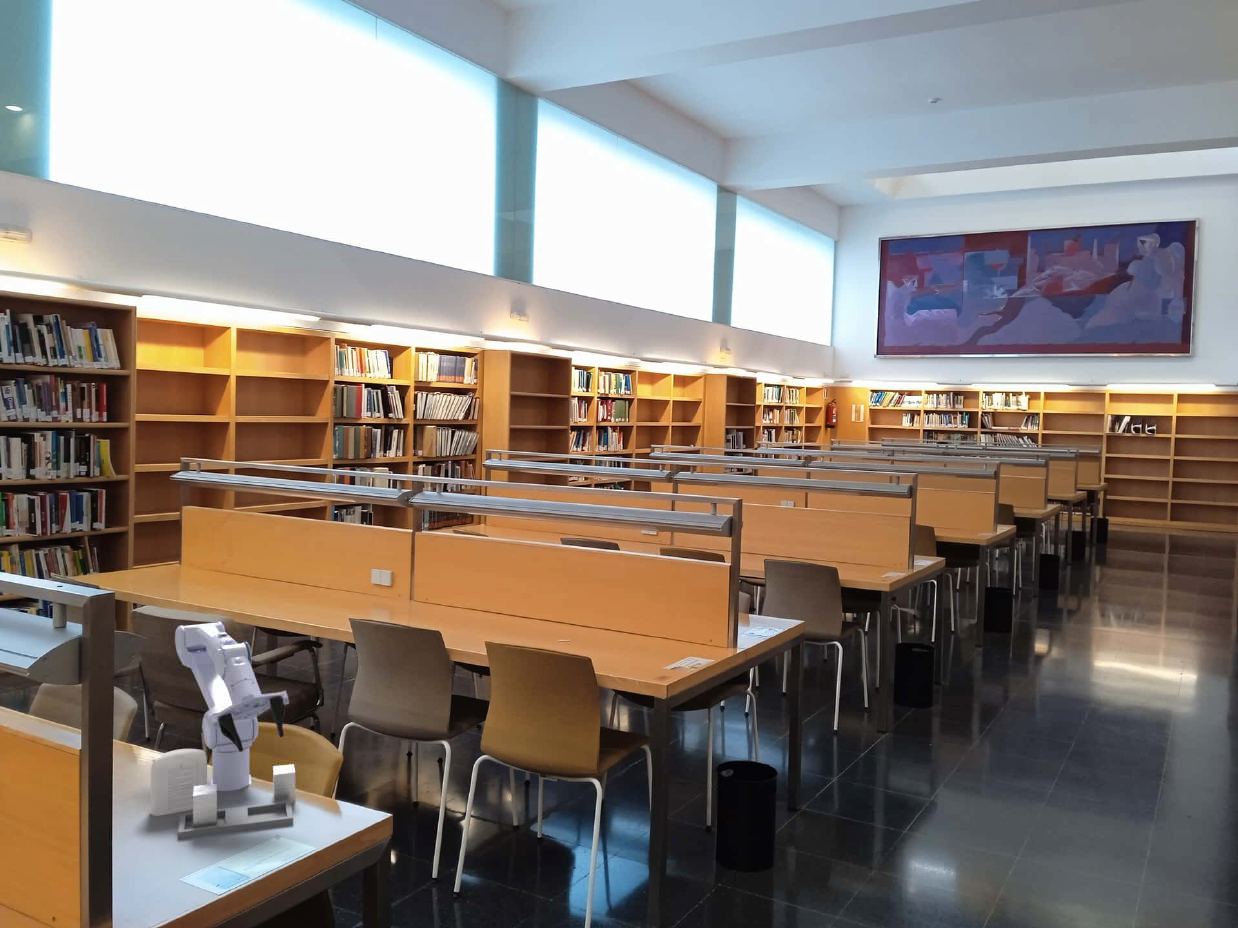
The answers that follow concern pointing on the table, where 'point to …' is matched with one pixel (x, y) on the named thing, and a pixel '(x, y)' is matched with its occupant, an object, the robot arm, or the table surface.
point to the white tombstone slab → (176, 780)
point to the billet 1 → (205, 806)
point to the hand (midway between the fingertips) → (261, 740)
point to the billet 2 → (284, 783)
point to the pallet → (239, 819)
